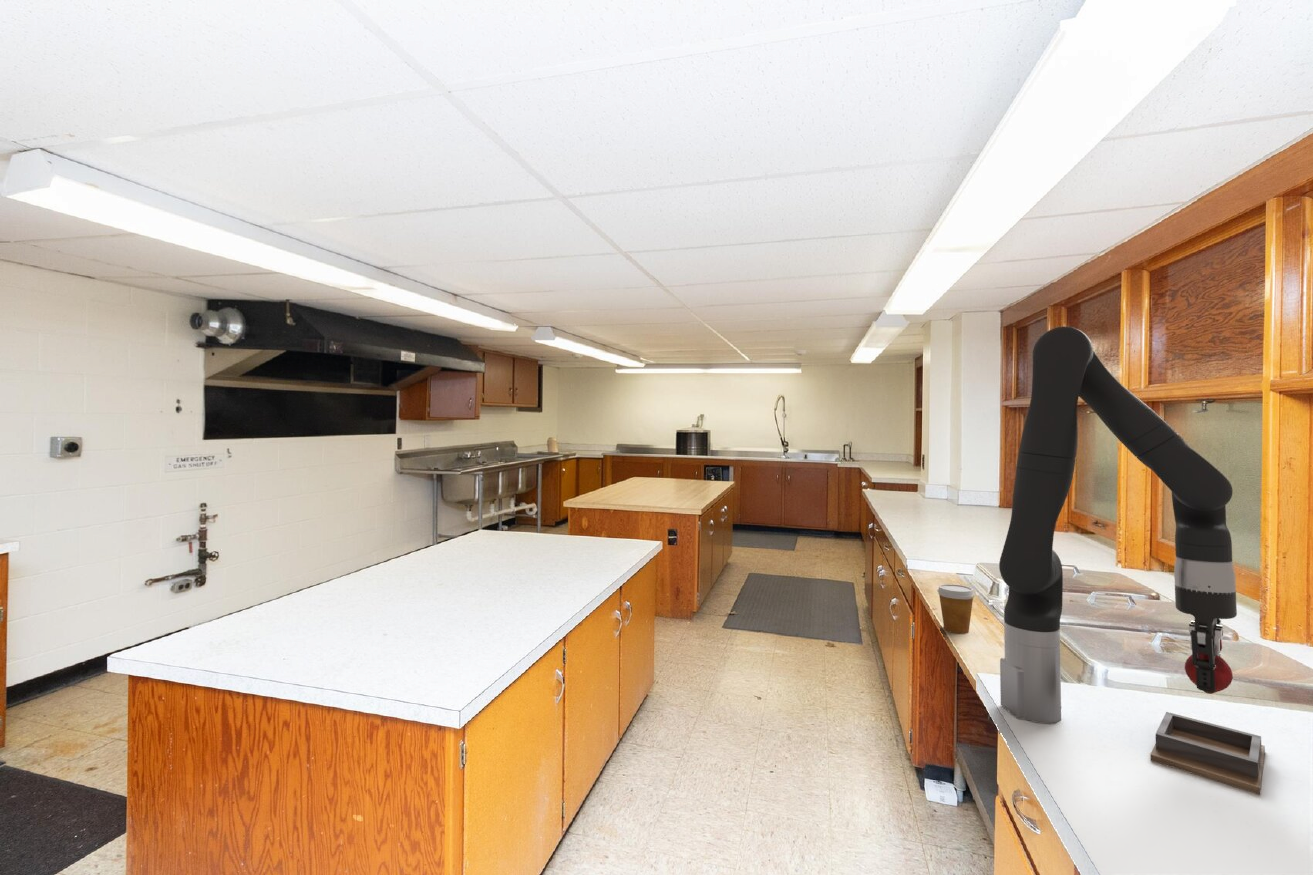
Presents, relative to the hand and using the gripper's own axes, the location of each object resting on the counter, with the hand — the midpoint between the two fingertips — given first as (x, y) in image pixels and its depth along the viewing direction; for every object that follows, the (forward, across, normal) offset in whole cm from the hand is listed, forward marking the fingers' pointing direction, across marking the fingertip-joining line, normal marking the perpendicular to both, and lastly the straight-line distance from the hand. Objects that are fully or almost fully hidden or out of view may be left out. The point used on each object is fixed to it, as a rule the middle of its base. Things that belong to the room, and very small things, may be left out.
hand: (1208, 684), depth 97 cm
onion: (+2, 0, 0) cm, 2 cm away
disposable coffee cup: (+11, +38, +55) cm, 68 cm away
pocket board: (+12, 0, 0) cm, 12 cm away
